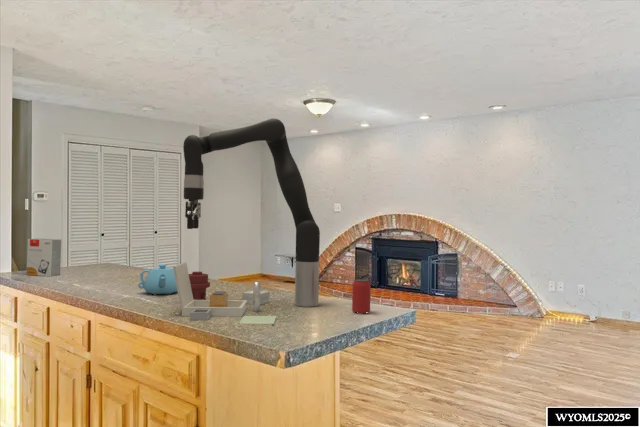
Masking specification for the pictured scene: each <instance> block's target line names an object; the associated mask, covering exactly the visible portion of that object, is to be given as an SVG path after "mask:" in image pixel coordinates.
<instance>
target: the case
mask: <svg viewBox="0 0 640 427" xmlns="http://www.w3.org/2000/svg"><path fill="white" fill-rule="evenodd" d="M172 268H173V270H174V275H175V280H176V285H177V291H176V292H177V295H178V299H179V305H180V308H181V317H189V320H190V321H208V320H210V319H211V318H212V317H217V318H219V317H221V318H222V317H223V318H224V317H228V318H232V317H235V318H243V316H244V314H245V312H246V311H247V309H248V304H247V300H242V299H241V300H240V299H239V300H233V299H232V300H231V299H230V300H229V299H228V307H210V299H206V300H193V295H192V290H191V284H190V279H189V274H190V273H189V270H188V264H187V262H186V261H185V262H182V263H180V264H177V265H174V266H173V267H172Z"/></svg>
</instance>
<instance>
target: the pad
mask: <svg viewBox="0 0 640 427" xmlns="http://www.w3.org/2000/svg"><path fill="white" fill-rule="evenodd" d="M276 319H277V316H276V315H242V317H241V319H240V321H239V324H240V325H241V324H243V325H244V324H248V325H249V324H251V325H252V324H254V325H255V324H256V325H257V324H258V325H259V324H260V325H262V324H263V325H265V324H267V325H271V326H275V322H276Z"/></svg>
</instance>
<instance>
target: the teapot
mask: <svg viewBox="0 0 640 427" xmlns="http://www.w3.org/2000/svg"><path fill="white" fill-rule="evenodd" d="M144 273H148V274H146V277H145V279H144ZM139 276H140V281H141V282H139V283H138V285H137V286H138V289H142V290H143V289H144V291H145V292H146V293H148V294H151V295H152V294H157V295H163V294H165V295H172V294H173V293H176V292H178V291H177V285H176V280H175V275H174V270H173V267H167V264H164V263H163V264H159V265H158V267H155V268H151V269H150V270H149V269H145V270H142V271H141V273H140V275H139ZM141 285H142V286H141Z"/></svg>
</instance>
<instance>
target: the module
mask: <svg viewBox="0 0 640 427" xmlns="http://www.w3.org/2000/svg"><path fill="white" fill-rule="evenodd" d="M209 300H210V307H228V300H229V292H228V291H226V290H225V291H224V290H215V291H213V292H211V294H209Z"/></svg>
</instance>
